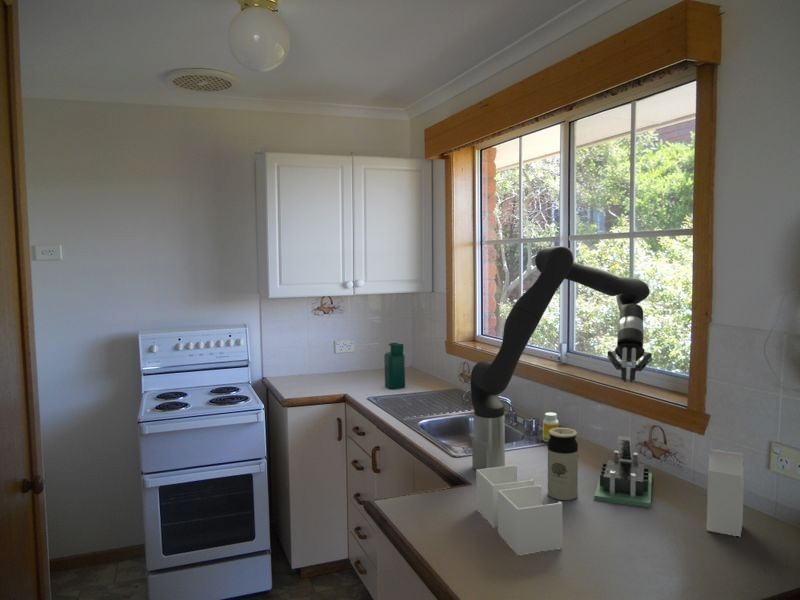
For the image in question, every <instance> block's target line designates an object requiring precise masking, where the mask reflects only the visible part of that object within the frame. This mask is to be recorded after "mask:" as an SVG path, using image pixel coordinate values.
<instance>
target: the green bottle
mask: <svg viewBox="0 0 800 600" xmlns="http://www.w3.org/2000/svg"><path fill="white" fill-rule="evenodd" d="M388 346H390V348H389V349H390V351H389V352H386V353H384V357H383V358H384V363H383V364H384V387H385V388H386V389H389V390H392V391H393V390H400V389H405V388H406V369H405V368H406V365H405V363H406V361H405V358H406V357H405V354H404V343H398V342H390V343H388Z"/></svg>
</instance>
